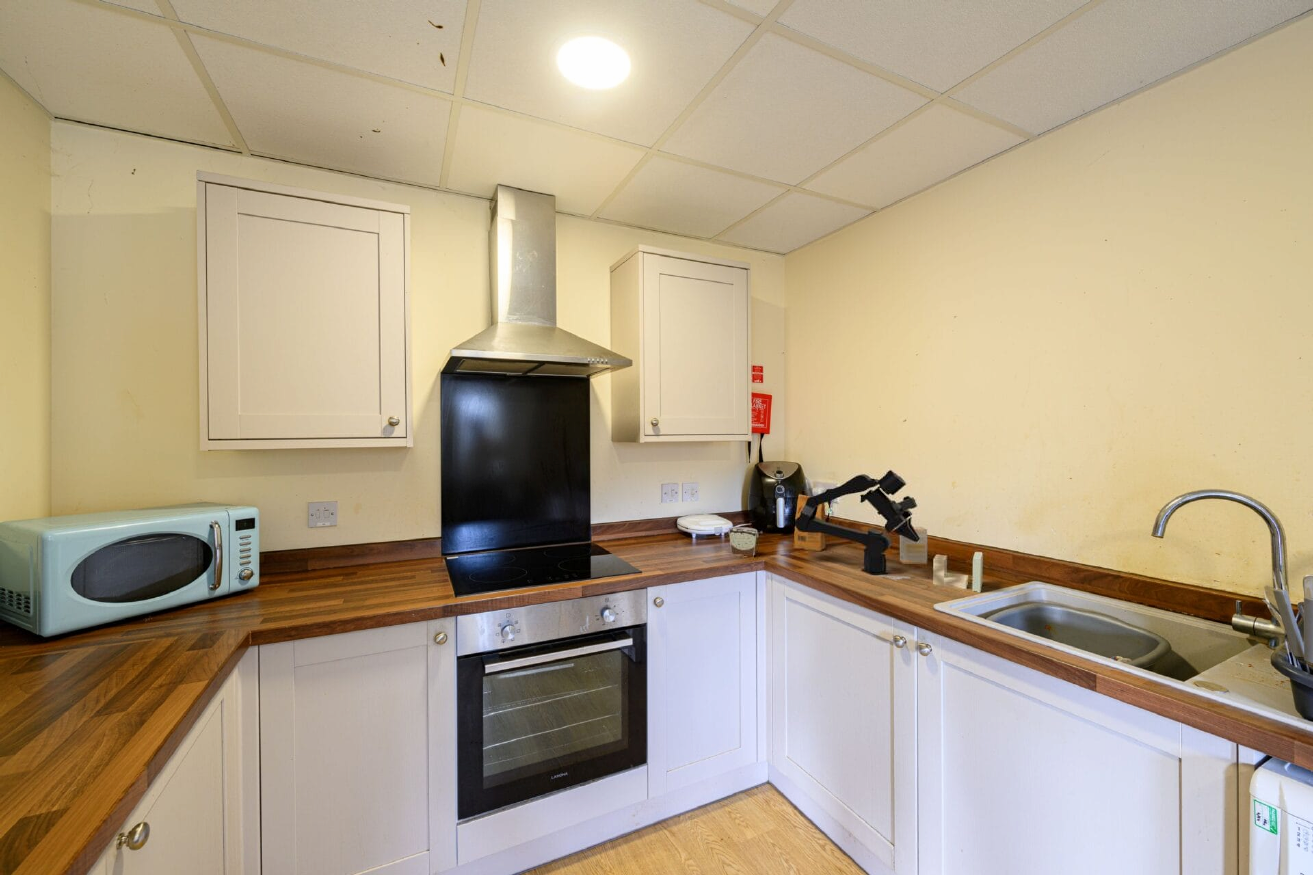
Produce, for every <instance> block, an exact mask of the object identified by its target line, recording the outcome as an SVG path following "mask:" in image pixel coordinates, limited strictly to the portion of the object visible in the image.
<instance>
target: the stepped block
mask: <svg viewBox="0 0 1313 875" xmlns="http://www.w3.org/2000/svg"><path fill="white" fill-rule="evenodd" d="M932 561H933V565H932V566H933V568H932V570H933V571H932V572H933V573H932V574H933V575H932V576H933V578H932V582H933V583H932V585H935V586H941V587H942V586H943V587H949V588H955V589H962V590H967V587H968V584H969V575H967V574H960V573H952V572H948V555H943V554H936V555H935V556H934V558H933V560H932Z"/></svg>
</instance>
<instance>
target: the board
mask: <svg viewBox="0 0 1313 875" xmlns="http://www.w3.org/2000/svg"><path fill="white" fill-rule="evenodd" d="M983 558H984V556H983V552H981V551H975V552H974V554H973V557H972V591H971V592H973V591H977V592H976V593H981V591H982V586H983V562H984V560H983Z"/></svg>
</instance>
